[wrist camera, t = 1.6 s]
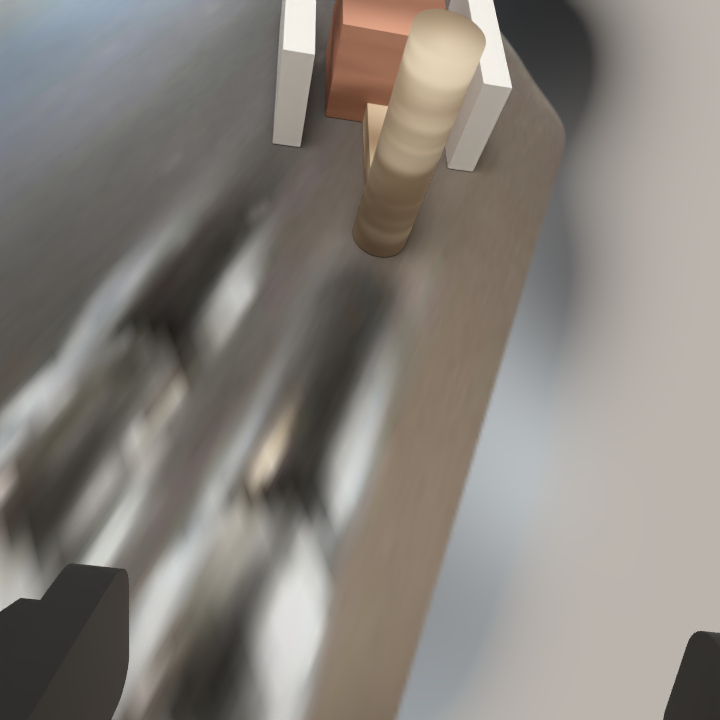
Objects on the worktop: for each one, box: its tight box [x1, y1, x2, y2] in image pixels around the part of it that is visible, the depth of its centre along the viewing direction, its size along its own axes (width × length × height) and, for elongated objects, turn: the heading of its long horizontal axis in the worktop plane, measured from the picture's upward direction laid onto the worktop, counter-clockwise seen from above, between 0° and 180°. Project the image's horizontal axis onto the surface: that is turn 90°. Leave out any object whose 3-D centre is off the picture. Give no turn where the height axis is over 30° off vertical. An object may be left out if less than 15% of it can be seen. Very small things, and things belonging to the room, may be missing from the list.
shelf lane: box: [273, 0, 512, 172], centre depth 38 cm, size 11×12×6 cm
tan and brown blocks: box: [326, 0, 486, 257], centre depth 33 cm, size 16×6×12 cm, turn 2°
